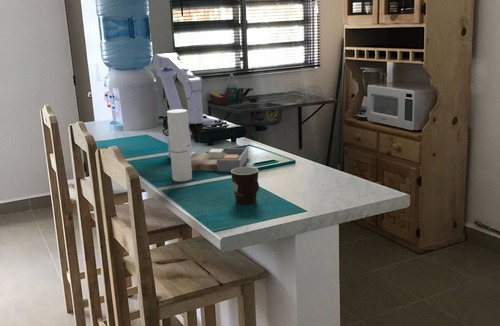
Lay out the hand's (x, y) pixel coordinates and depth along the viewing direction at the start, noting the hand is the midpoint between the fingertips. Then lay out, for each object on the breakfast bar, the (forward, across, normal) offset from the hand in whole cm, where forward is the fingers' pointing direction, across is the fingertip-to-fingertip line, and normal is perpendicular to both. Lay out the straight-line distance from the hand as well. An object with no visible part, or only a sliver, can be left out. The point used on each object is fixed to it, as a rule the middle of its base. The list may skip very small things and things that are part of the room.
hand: (197, 142), depth 214 cm
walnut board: (+8, +4, -3) cm, 10 cm away
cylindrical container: (+8, 0, -22) cm, 23 cm away
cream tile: (+6, +8, 0) cm, 10 cm away
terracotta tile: (+6, +15, -7) cm, 18 cm away
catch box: (+8, +14, -3) cm, 17 cm away
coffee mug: (+8, +28, -46) cm, 54 cm away
